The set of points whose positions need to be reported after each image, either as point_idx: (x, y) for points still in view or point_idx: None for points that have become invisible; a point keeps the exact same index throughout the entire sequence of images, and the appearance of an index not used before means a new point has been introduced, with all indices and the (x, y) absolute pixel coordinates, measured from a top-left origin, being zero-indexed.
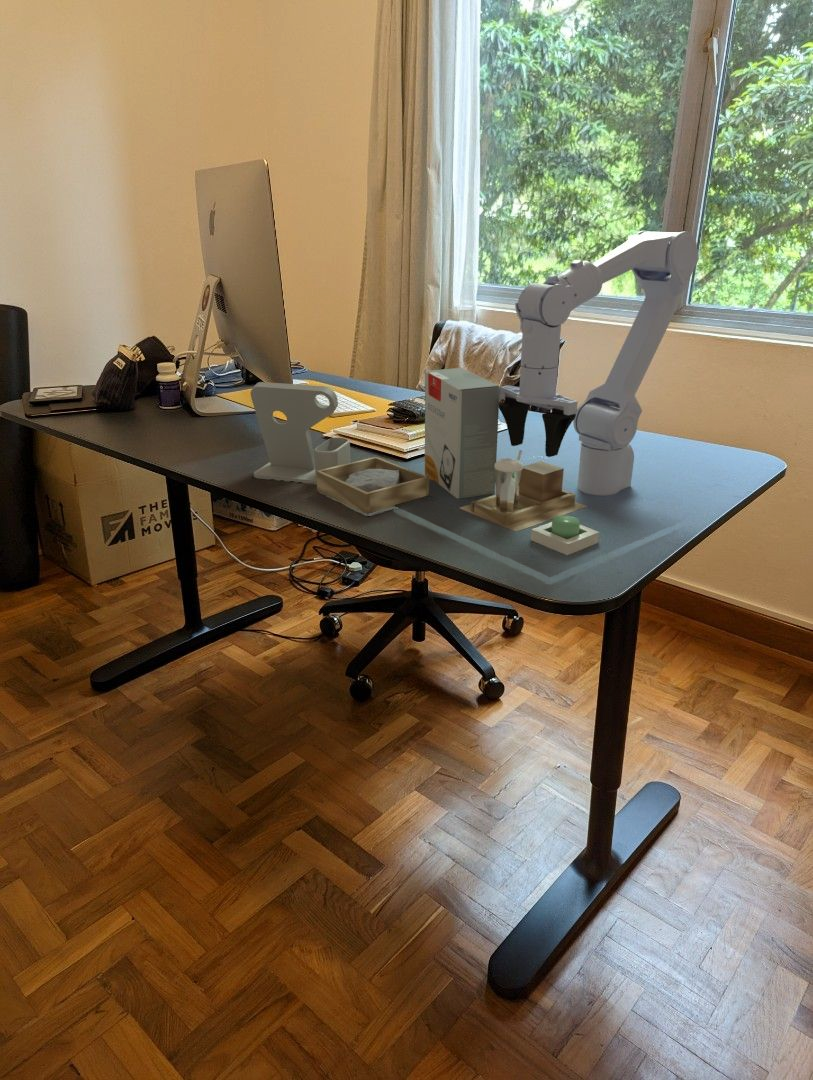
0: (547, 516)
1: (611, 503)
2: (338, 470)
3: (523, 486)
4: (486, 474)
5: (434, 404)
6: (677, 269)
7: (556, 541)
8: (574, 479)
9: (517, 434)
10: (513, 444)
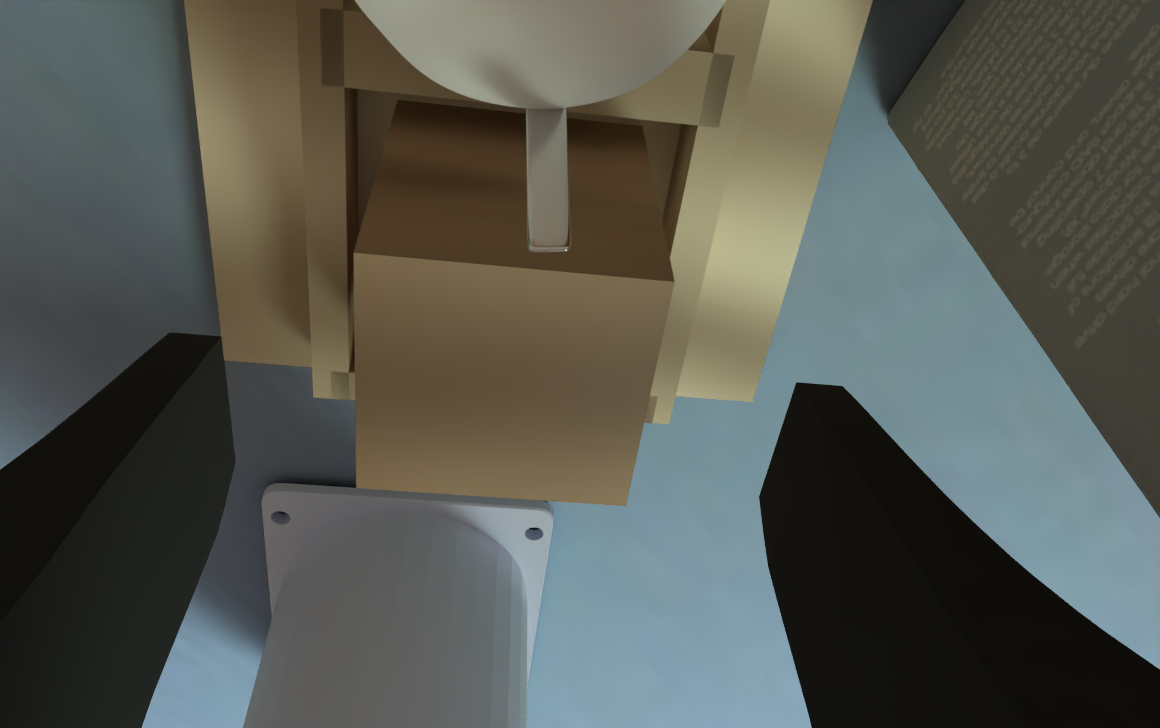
0: (245, 3)
1: (235, 511)
2: None
3: (605, 183)
4: (1016, 132)
5: None
6: None
7: None
8: (631, 640)
9: (820, 536)
10: (804, 391)
